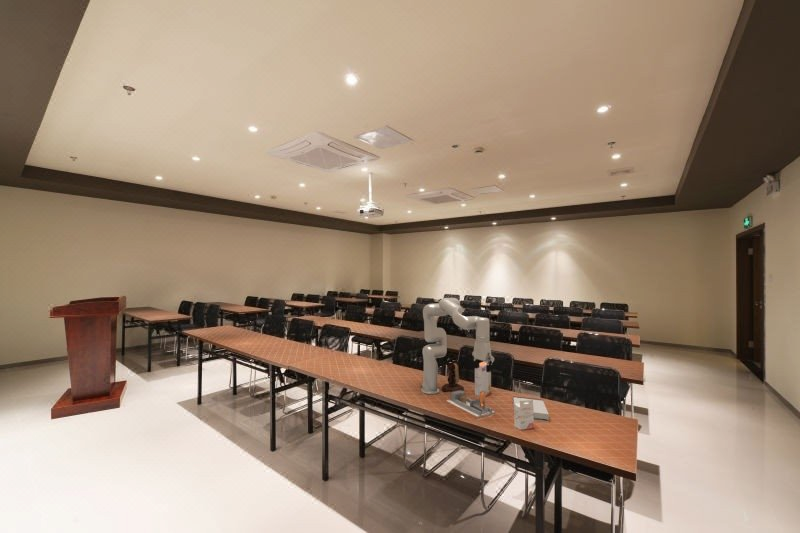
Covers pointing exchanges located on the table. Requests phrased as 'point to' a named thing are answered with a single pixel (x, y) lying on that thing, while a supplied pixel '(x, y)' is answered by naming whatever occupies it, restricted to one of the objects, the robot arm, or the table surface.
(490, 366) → the robot arm
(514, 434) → the table surface
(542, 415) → the disc drive
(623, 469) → the table surface
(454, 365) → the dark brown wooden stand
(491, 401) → the table surface
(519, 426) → the ink cartridge box
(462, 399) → the nut
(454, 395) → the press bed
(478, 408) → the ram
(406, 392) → the table surface
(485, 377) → the cracker box
